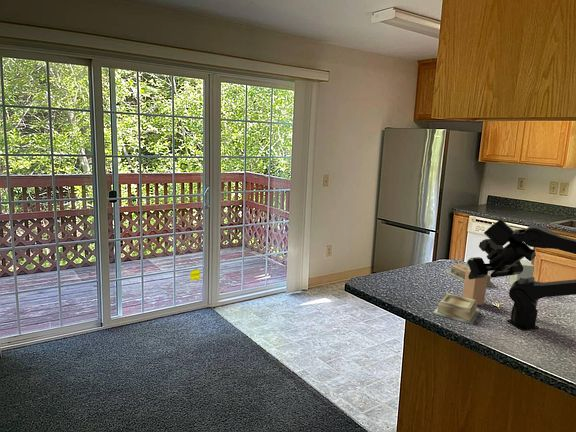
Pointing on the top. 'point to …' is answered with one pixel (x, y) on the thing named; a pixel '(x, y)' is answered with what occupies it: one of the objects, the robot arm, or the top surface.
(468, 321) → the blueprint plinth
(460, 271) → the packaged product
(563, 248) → the robot arm
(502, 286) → the top surface
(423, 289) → the top surface
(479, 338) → the top surface
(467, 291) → the column block
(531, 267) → the small box
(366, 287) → the top surface
